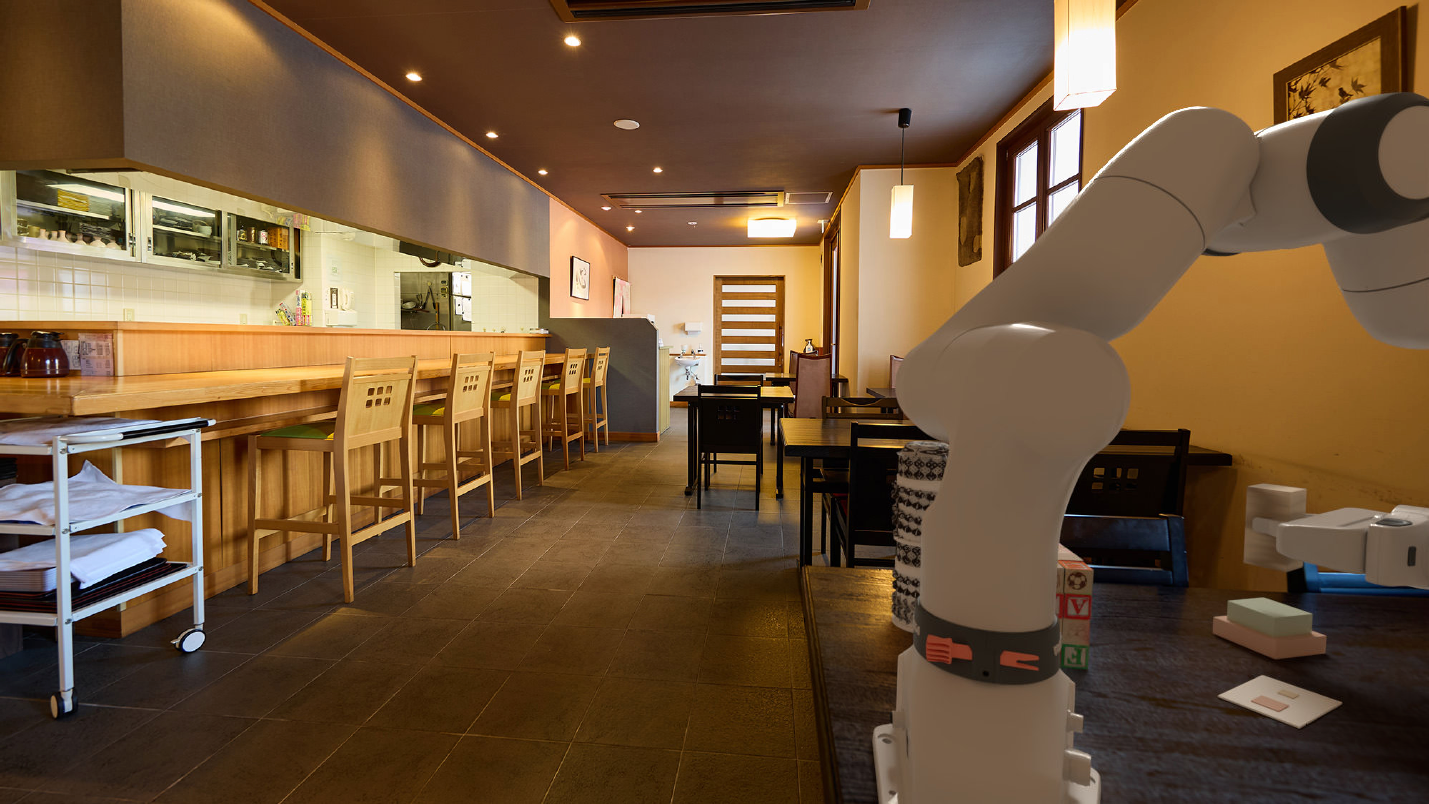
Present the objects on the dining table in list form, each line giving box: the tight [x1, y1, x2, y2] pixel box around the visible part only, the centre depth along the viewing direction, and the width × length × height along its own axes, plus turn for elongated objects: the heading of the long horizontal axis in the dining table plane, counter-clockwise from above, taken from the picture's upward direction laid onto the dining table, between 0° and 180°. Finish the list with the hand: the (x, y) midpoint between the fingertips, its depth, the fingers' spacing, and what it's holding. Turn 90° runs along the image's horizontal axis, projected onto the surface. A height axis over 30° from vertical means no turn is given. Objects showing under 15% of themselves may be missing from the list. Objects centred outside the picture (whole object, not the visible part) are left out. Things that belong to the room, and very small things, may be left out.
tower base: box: [1212, 597, 1327, 660], centre depth 86 cm, size 8×8×5 cm
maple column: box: [1243, 483, 1308, 573], centre depth 85 cm, size 4×4×10 cm
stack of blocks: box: [1055, 542, 1094, 670], centre depth 89 cm, size 21×6×12 cm, turn 170°
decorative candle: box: [890, 440, 949, 634], centre depth 91 cm, size 9×9×25 cm
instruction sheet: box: [1217, 674, 1343, 730], centre depth 71 cm, size 10×7×1 cm
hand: (1266, 520), depth 86 cm, fingers closed on maple column, 4 cm apart
